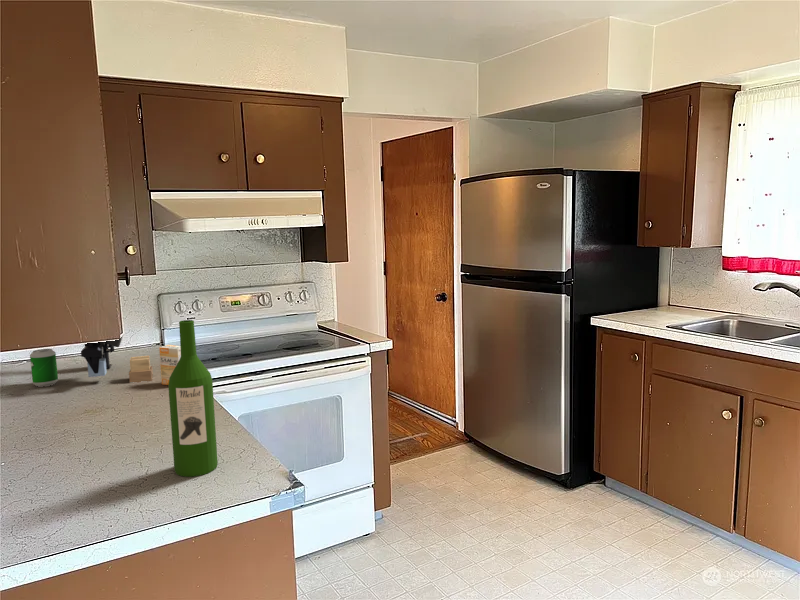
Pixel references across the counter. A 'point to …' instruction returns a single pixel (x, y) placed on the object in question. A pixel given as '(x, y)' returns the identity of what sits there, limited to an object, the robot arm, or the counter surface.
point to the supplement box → (168, 361)
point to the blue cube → (101, 371)
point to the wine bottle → (192, 410)
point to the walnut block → (141, 375)
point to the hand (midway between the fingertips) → (97, 371)
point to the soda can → (44, 367)
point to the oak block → (139, 363)
